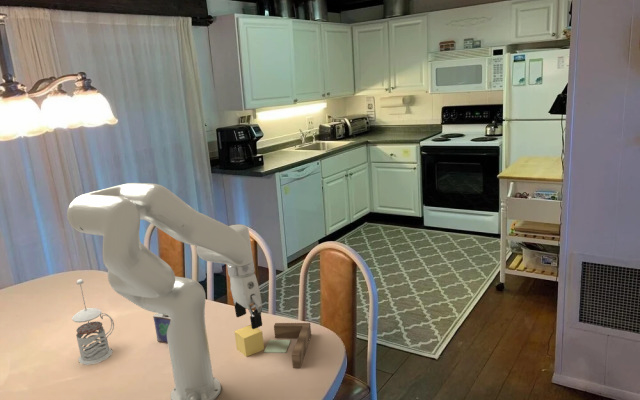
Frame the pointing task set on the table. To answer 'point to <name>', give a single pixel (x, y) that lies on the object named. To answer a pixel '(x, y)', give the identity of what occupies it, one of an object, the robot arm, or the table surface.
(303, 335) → the brown l-shaped piece
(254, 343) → the cube
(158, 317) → the purple clover tin
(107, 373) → the table surface
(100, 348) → the french press
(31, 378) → the table surface
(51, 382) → the table surface
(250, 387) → the table surface
